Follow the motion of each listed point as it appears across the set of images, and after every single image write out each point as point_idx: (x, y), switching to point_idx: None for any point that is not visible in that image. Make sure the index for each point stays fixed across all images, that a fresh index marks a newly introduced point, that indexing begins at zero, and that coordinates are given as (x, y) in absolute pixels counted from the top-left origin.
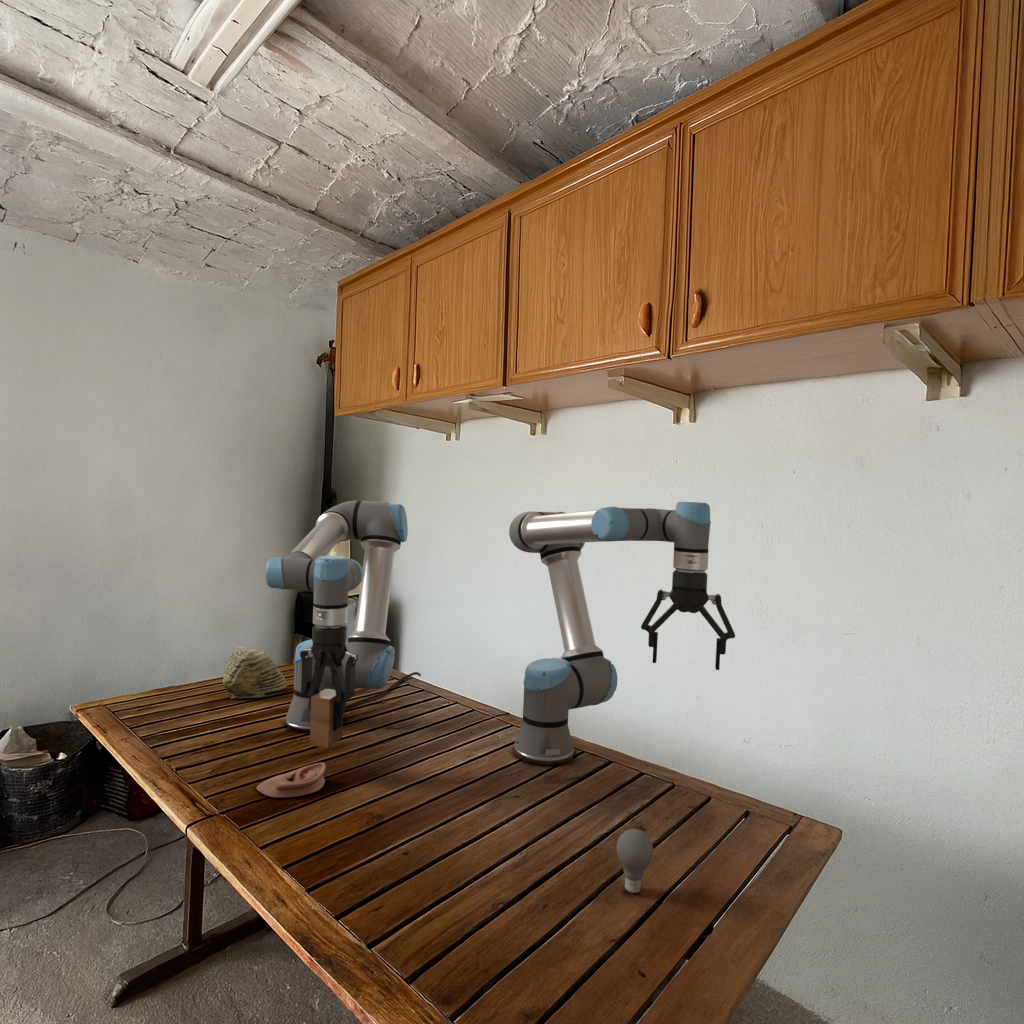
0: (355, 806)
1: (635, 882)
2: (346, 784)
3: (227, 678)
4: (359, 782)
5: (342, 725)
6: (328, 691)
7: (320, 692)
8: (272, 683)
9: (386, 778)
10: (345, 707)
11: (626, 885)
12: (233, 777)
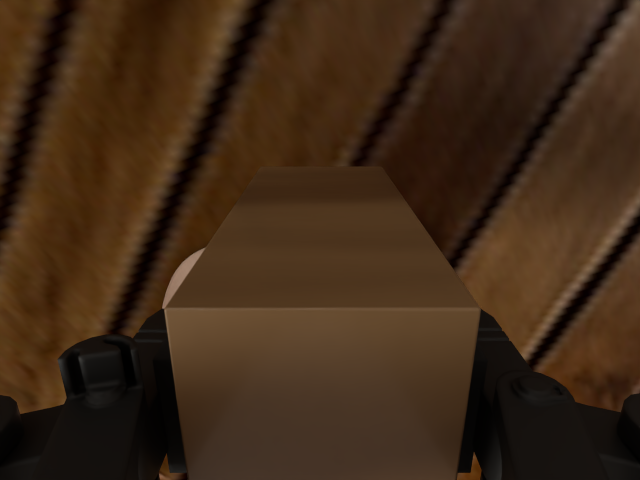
0: (524, 357)
1: None
2: (434, 236)
3: None
4: (475, 206)
5: (393, 184)
6: (278, 396)
7: (206, 462)
8: None
9: (570, 138)
10: (508, 342)
11: None
12: (31, 312)
